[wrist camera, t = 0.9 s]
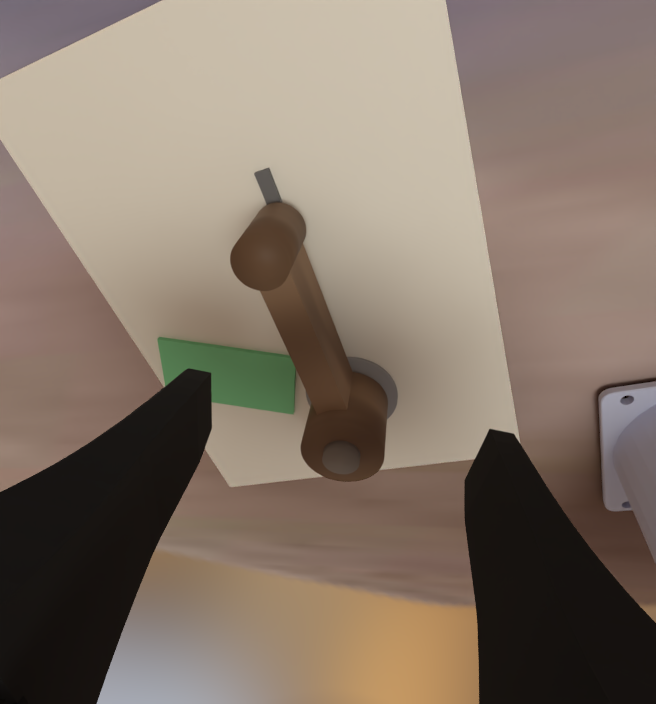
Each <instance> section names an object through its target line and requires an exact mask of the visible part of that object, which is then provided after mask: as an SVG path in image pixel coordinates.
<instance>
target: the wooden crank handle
mask: <svg viewBox="0 0 656 704" xmlns="http://www.w3.org/2000/svg"><path fill="white" fill-rule="evenodd" d="M305 237H306V224H305V221H304V219H303V217H302V215H301V214H300V213H299V212H298V211H297V210H296V209H295V208H294V207H292V206H290V205H288V204H285V203H278V202H276V203H270V204H268V205H266V206H264V207H263V208H262V209H261V210H260V211H259V212H258V214H257V215H256V216H255V218H254V219H253V221H252V222H251V223H250V225H249V226H248V227H247V229H246V230H245V231H244V233H243V234H242V236H241V237H240V238H239V240H238V241H237V242H236V244H235V245H234V247H233V248H232V251H231V254H230V264H231V268H232V270H233V272H234V274H235V276H236V277H237V278H238V279H239V280H240V281H241V282H242V283H243V284H244V285H246V286H248V287H249V288H252V289H254V290H258V291H260V292H261V295H262V297H263V299H264V301H265V303H266V305H267V308H268V310H269V312H270V314H271V316H272V318H273V321H274V323H275V325H276V327H277V329H278V331H279V333H280V336H281V338H282V340H283V342H284V344H285V346H286V349H287V351H288V353H289V355H290V357H291V359H292V362H293V364H294V366H295V368H296V370H297V372H298V375H299V377H300V379H301V381H302V383H303V385H304V388H305V390H306V392H307V394H308V396H309V398H310V401H311V406H310V410H309V414H308V418H307V422H306V426H305V430H304V434H303V437H302V441H301V447H300V449H301V455H302V457H303V459H304V461H305V463H306V464H307V465H308V466H309V467H310V468H311V469H312V470H314V471H315V472H316V473H318V474H320V475H322V476H324V477H326V478H329V479H332V480H337V481H344V482H351V481H359V480H363V479H366V478H369V477H371V476H372V475H374V474H375V473H377V472H378V471H379V469H380V468H381V467H382V465H383V462H384V456H385V440H386V425H387V410H388V398H387V395H386V393H385V391H384V389H383V388H382V386H381V385H380V384H379V383H378V382H376V381H375V380H374V379H372V378H370V377H368V376H366V375H364V374H360V373H356V372H352V369H351V367H350V364H349V361H348V359H347V356H346V354H345V351H344V348H343V346H342V343H341V341H340V338H339V335H338V333H337V330H336V328H335V325H334V322H333V320H332V317H331V315H330V312H329V309H328V307H327V304H326V302H325V299H324V296H323V294H322V291H321V289H320V286H319V283H318V281H317V278H316V276H315V273H314V271H313V268H312V265H311V263H310V260H309V258H308V255H307V252H306V250H305V247H304V245H303V242H304V240H305Z"/></svg>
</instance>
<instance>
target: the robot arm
mask: <svg viewBox="0 0 656 704" xmlns="http://www.w3.org/2000/svg"><path fill="white" fill-rule="evenodd" d="M627 395H628V396H629V397H628V398H625V399H621V398H622V397H624V396H627ZM598 401H599V423H600V446H601V468H602V490H603V502H604V505H605V507H606V509H608V510H610V511H628V510H633V512H634V515H635V517H636V519H637V522H638V524H639V526H640V529H641V531H642V533H643V536H644V538H645V540H646V543H647V545H648V547H649V550H650V552H651V554H652V557H653V559H654V561H655V564H656V381H655V382H648V383H641V384H634V385H627V386H620V387H614V388H609V389H606V390H604V391H602V392H601V393H600V395H599V398H598ZM211 430H212V392H211V373H210V372H205V371H200V370H195V369H190V368H188V369H186V370H185V371H183V372H182V373H181V374H180V375H178V376H177V377H176V378H175V379H174V380H172V381H171V382H170V383H169V384H168V385H166V386H165V387H164V388H163V389H161V390H160V391H159V392H158V393H157V394H155V395H154V396H153V397H152V398H150V399H149V400H148V401H147V402H145V403H144V404H143V405H141V406H140V407H139V408H137V409H136V410H135V411H134V412H132V413H131V414H130V415H128V416H127V417H126V418H124V419H123V420H122V421H120V422H119V423H117V424H116V425H115V426H113V427H112V428H110V429H109V430H107V431H106V432H104V433H103V434H102V435H100V436H99V437H97V438H96V439H94V440H93V441H91V442H90V443H88V444H87V445H85V446H84V447H82V448H80V449H79V450H77V451H76V452H74V453H72V454H71V455H69V456H67V457H66V458H64V459H62V460H61V461H59V462H57V463H55V464H54V465H52V466H50V467H48V468H47V469H45V470H43V471H41V472H39V473H37V474H35V475H33V476H31V477H30V478H28V479H26V480H24V481H22V482H20V483H18V484H16V485H14V486H12V487H10V488H8V489H6V490H4V491H2V492H0V704H96V703H97V700H98V697H99V695H100V692H101V689H102V686H103V683H104V680H105V677H106V674H107V671H108V669H109V666H110V663H111V661H112V658H113V655H114V652H115V650H116V647H117V644H118V641H119V639H120V636H121V633H122V630H123V628H124V625H125V622H126V620H127V617H128V615H129V612H130V610H131V607H132V604H133V602H134V599H135V597H136V594H137V592H138V589H139V587H140V584H141V582H142V579H143V577H144V574H145V572H146V569H147V567H148V564H149V562H150V559H151V557H152V554H153V552H154V550H155V548H156V546H157V544H158V542H159V540H160V537H161V535H162V534H163V532H164V530H165V528H166V526H167V524H168V522H169V520H170V518H171V516H172V514H173V513H174V511H175V509H176V507H177V505H178V503H179V501H180V499H181V497H182V495H183V493H184V491H185V490H186V488H187V486H188V484H189V482H190V480H191V478H192V476H193V474H194V472H195V470H196V468H197V466H198V464H199V462H200V459H201V457H202V454H203V452H204V449H205V446H206V444H207V441H208V438H209V435H210V432H211ZM465 525H466V533H467V541H468V549H469V557H470V564H471V572H472V579H473V587H474V595H475V602H476V611H477V623H478V648H479V649H478V652H479V704H656V623H655V622H654V621H653V620H652V619H651V618H650V617H649V615H647V614H646V612H645V611H644V610H643V609H642V608H641V607H640V606H639V605H638V604H637V603H636V602H635V601H634V599H633V598H632V597H631V596H630V595H629V594H628V593H627V592H626V591H625V589H624V588H623V587H622V586H621V585H620V584H619V582H618V581H617V580H616V579H615V578H614V576H613V575H612V574H611V573H610V572H609V571H608V569H607V568H606V567H605V566H604V565H603V563H602V562H601V561H600V560H599V559H598V557H597V556H596V555H595V553H594V552H593V551H592V550H591V548H590V547H589V546H588V544H587V543H586V542H585V540H584V539H583V538H582V536H581V535H580V534H579V532H578V531H577V530H576V528H575V527H574V526H573V524H572V523H571V521H570V520H569V519H568V517H567V516H566V514H565V513H564V511H563V510H562V508H561V507H560V506H559V504H558V503H557V501H556V500H555V498H554V497H553V495H552V494H551V492H550V491H549V489H548V487H547V486H546V484H545V483H544V481H543V480H542V478H541V476H540V475H539V473H538V472H537V470H536V468H535V467H534V465H533V464H532V462H531V460H530V459H529V457H528V456H527V454H526V452H525V451H524V449H523V448H522V446H521V444H520V443H519V441H518V439H517V438H516V436H515V435H514V433H509V432H504V431H499V430H494V429H489V431H488V433H487V435H486V437H485V439H484V441H483V443H482V445H481V448H480V450H479V452H478V454H477V456H476V458H475V460H474V462H473V464H472V466H471V468H470V470H469V473H468V475H467V477H466V479H465Z"/></svg>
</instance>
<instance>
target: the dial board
mask: <svg viewBox="0 0 656 704" xmlns="http://www.w3.org/2000/svg"><path fill="white" fill-rule="evenodd" d="M0 140H1V141H2V143H3V144H4V146H5V147H6V149H7V150H8V152H9V153H10V155H11V156H12V158H13V159H14V161H15V162H16V164H17V165H18V167H19V169H20V170H21V172H22V173H23V175H24V176H25V178H26V179H27V181H28V182H29V184H30V185H31V187H32V188H33V190H34V191H35V193H36V194H37V196H38V197H39V199H40V200H41V202H42V203H43V205H44V206H45V208H46V209H47V211H48V212H49V214H50V215H51V217H52V218H53V220H54V221H55V223H56V225H57V226H58V228H59V229H60V231H61V232H62V234H63V235H64V237H65V238H66V240H67V241H68V243H69V244H70V246H71V247H72V249H73V250H74V252H75V253H76V255H77V256H78V258H79V259H80V261H81V262H82V264H83V265H84V267H85V268H86V270H87V271H88V273H89V274H90V276H91V277H92V279H93V280H94V282H95V284H96V285H97V287H98V288H99V290H100V291H101V293H102V294H103V296H104V297H105V299H106V300H107V302H108V303H109V305H110V306H111V308H112V309H113V311H114V312H115V314H116V315H117V317H118V318H119V320H120V321H121V323H122V324H123V326H124V327H125V329H126V330H127V332H128V333H129V335H130V336H131V338H132V340H133V341H134V343H135V344H136V346H137V347H138V349H139V350H140V352H141V353H142V355H143V356H144V358H145V359H146V361H147V362H148V364H149V365H150V367H151V368H152V370H153V371H154V373H155V374H156V376H157V377H158V379H159V380H160V382H161V383H162V385H163V386H164V387H165V386H166V385H168V384H169V383H170V382H171V381H172V380H174V379H175V378H176V377H177V376H178V375H180V374H181V373H182V372H183V371H185V370H186V369H188V368H190V369H195V370H200V371H205V372H210V373H211V392H212V430H211V432H210V435H209V438H208V441H207V444H206V446H205V450H206V452H207V453H208V455H209V456H210V458H211V459H212V461H213V462H214V464H215V465H216V467H217V468H218V470H219V471H220V473H221V474H222V476H223V477H224V479H225V480H226V482H227V483H228V485H229V486H230V487H237V486H246V485H254V484H263V483H272V482H280V481H289V480H298V479H306V478H315V477H324V476H322V475H320V474H318V473H316V472H315V471H314V470H312V469H311V468H310V467H309V466H308V465H307V464H306V463H305V461H304V459H303V457H302V455H301V449H300V447H301V441H302V437H303V434H304V430H305V426H306V422H307V418H308V414H309V410H310V406H311V401H310V398H309V396H308V394H307V392H306V390H305V388H304V385H303V383H302V381H301V379H300V377H299V375H298V372H297V370H296V368H295V366H294V364H293V362H292V359H291V357H290V355H289V353H288V351H287V349H286V346H285V344H284V342H283V340H282V338H281V336H280V333H279V331H278V329H277V327H276V325H275V323H274V321H273V318H272V316H271V314H270V312H269V310H268V308H267V305H266V303H265V301H264V299H263V297H262V295H261V292H260V291H258V290H254V289H252V288H249V287H248V286H246V285H244V284H243V283H242V282H241V281H240V280H239V279H238V278H237V277H236V276H235V274H234V272H233V270H232V268H231V264H230V254H231V251H232V248H233V247H234V245H235V244H236V242H237V241H238V240H239V238H240V237H241V236H242V234H243V233H244V231H245V230H246V229H247V227H248V226H249V225H250V223H251V222H252V221H253V219H254V218H255V216H256V215H257V214H258V212H259V211H260V210H261V209H262V208H263V207H264V206H266V205H268V204H270V203H276V202H278V203H285V204H288V205H290V206H292V207H294V208H295V209H296V210H297V211H298V212H299V213H300V214H301V215H302V217H303V219H304V221H305V224H306V237H305V240H304V242H303V245H304V247H305V250H306V252H307V255H308V258H309V260H310V263H311V265H312V268H313V271H314V273H315V276H316V278H317V281H318V283H319V286H320V289H321V291H322V294H323V296H324V299H325V302H326V304H327V307H328V309H329V312H330V315H331V317H332V320H333V322H334V325H335V328H336V330H337V333H338V335H339V338H340V341H341V343H342V346H343V348H344V351H345V354H346V356H347V359H348V361H349V364H350V367H351V369H352V372H356V373H360V374H364V375H366V376H368V377H370V378H372V379H374V380H375V381H376V382H378V383H379V384H380V385H381V386H382V388H383V389H384V391H385V393H386V395H387V398H388V410H387V425H386V440H385V456H384V462H383V465H382V467H381V468H380V469H379V470H385V469H393V468H402V467H411V466H419V465H428V464H437V463H445V462H454V461H463V460H471V459H475V458H476V456H477V454H478V452H479V450H480V448H481V445H482V443H483V441H484V439H485V437H486V435H487V433H488V431H489V429H494V430H499V431H504V432H509V433H514V435H515V436H516V438H517V439H518V441H519V443H520V439H519V433H518V427H517V421H516V415H515V409H514V403H513V397H512V391H511V385H510V379H509V373H508V368H507V362H506V356H505V350H504V344H503V338H502V332H501V326H500V320H499V314H498V308H497V302H496V296H495V291H494V285H493V279H492V273H491V267H490V261H489V255H488V249H487V243H486V237H485V231H484V225H483V220H482V214H481V208H480V202H479V196H478V190H477V184H476V178H475V172H474V166H473V160H472V154H471V148H470V143H469V137H468V131H467V125H466V119H465V113H464V107H463V101H462V95H461V89H460V83H459V77H458V71H457V66H456V60H455V54H454V48H453V42H452V36H451V30H450V24H449V18H448V12H447V6H446V0H162V1H160V2H158V3H156V4H154V5H152V6H150V7H148V8H146V9H144V10H142V11H140V12H137V13H135V14H133V15H131V16H129V17H127V18H125V19H123V20H121V21H119V22H117V23H115V24H113V25H111V26H109V27H106V28H104V29H102V30H100V31H98V32H96V33H94V34H92V35H90V36H88V37H86V38H84V39H82V40H80V41H78V42H75V43H73V44H71V45H69V46H67V47H65V48H63V49H61V50H59V51H57V52H55V53H53V54H51V55H49V56H47V57H44V58H42V59H40V60H38V61H36V62H34V63H32V64H30V65H28V66H26V67H24V68H22V69H20V70H18V71H16V72H13V73H11V74H9V75H7V76H5V77H3V78H1V79H0Z"/></svg>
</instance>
